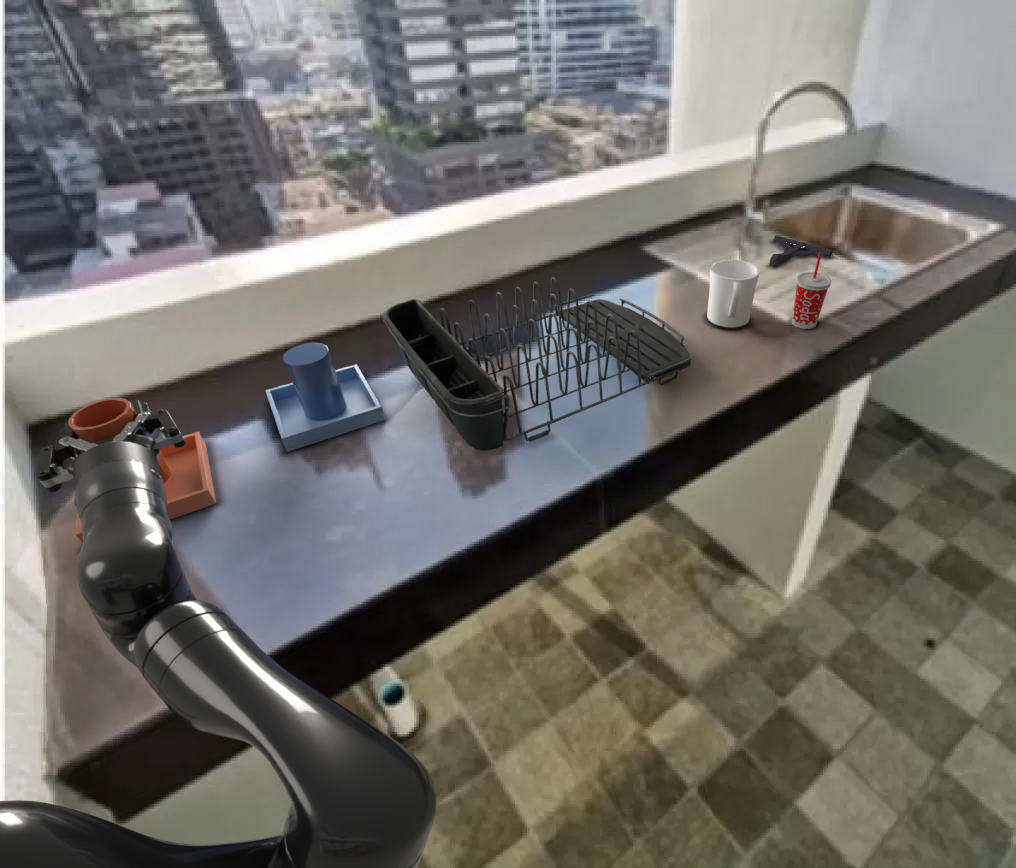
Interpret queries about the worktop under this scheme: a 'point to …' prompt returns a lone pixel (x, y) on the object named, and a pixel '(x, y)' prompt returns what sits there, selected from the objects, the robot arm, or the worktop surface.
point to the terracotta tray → (184, 479)
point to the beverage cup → (809, 297)
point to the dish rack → (479, 397)
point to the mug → (731, 293)
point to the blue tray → (306, 431)
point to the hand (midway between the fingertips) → (107, 417)
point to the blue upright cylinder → (315, 381)
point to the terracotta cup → (108, 424)
